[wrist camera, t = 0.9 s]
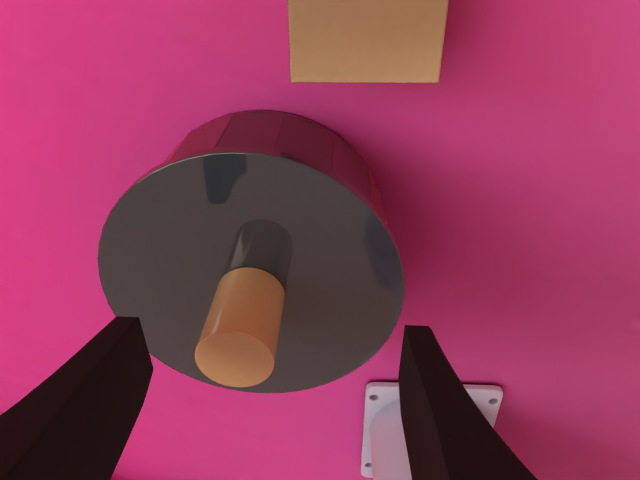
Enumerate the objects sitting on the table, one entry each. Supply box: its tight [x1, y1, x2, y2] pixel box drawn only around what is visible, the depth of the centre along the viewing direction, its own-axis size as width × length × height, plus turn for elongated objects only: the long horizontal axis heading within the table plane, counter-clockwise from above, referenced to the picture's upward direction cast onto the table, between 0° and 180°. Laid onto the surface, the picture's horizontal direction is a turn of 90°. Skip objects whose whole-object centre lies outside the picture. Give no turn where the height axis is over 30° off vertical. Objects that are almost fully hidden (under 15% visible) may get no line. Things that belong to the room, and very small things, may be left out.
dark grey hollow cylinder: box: [163, 110, 386, 221], centre depth 21 cm, size 11×11×5 cm
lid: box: [98, 146, 405, 393], centre depth 18 cm, size 12×12×4 cm
